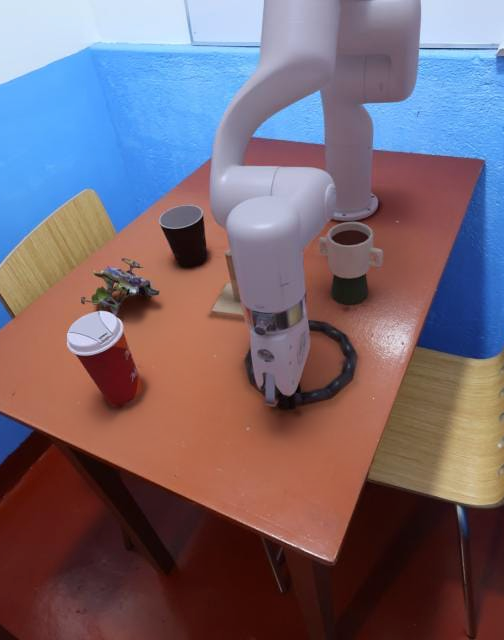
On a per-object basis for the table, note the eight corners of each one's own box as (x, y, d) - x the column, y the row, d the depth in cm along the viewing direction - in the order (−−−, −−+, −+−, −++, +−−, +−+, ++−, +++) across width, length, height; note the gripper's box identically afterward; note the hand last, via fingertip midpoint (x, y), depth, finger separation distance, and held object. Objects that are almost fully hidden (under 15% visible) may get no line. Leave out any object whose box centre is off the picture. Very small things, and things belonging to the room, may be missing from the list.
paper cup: (159, 388, 72) (131, 322, 63) (119, 422, 68) (82, 357, 59) (129, 366, 76) (99, 301, 67) (90, 396, 73) (52, 332, 63)
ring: (265, 319, 80) (263, 312, 79) (364, 332, 75) (364, 324, 74) (231, 396, 69) (229, 388, 68) (344, 417, 64) (344, 409, 62)
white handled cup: (387, 293, 81) (392, 228, 72) (371, 318, 77) (375, 253, 68) (329, 278, 86) (327, 216, 77) (312, 301, 82) (308, 238, 73)
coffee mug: (206, 272, 93) (195, 228, 86) (165, 271, 95) (152, 228, 88) (221, 239, 101) (212, 196, 94) (183, 238, 103) (172, 197, 96)
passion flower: (151, 317, 93) (172, 279, 85) (113, 347, 85) (133, 309, 77) (108, 280, 93) (125, 239, 85) (67, 306, 85) (81, 264, 77)
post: (228, 287, 88) (217, 236, 81) (268, 291, 86) (261, 239, 78) (212, 315, 83) (199, 264, 75) (255, 321, 80) (245, 268, 73)
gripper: (287, 358, 48) (299, 454, 60) (320, 265, 58) (325, 363, 71) (219, 347, 50) (244, 442, 63) (263, 260, 61) (277, 355, 73)
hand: (287, 399), depth 67 cm, fingers closed on ring, 1 cm apart
